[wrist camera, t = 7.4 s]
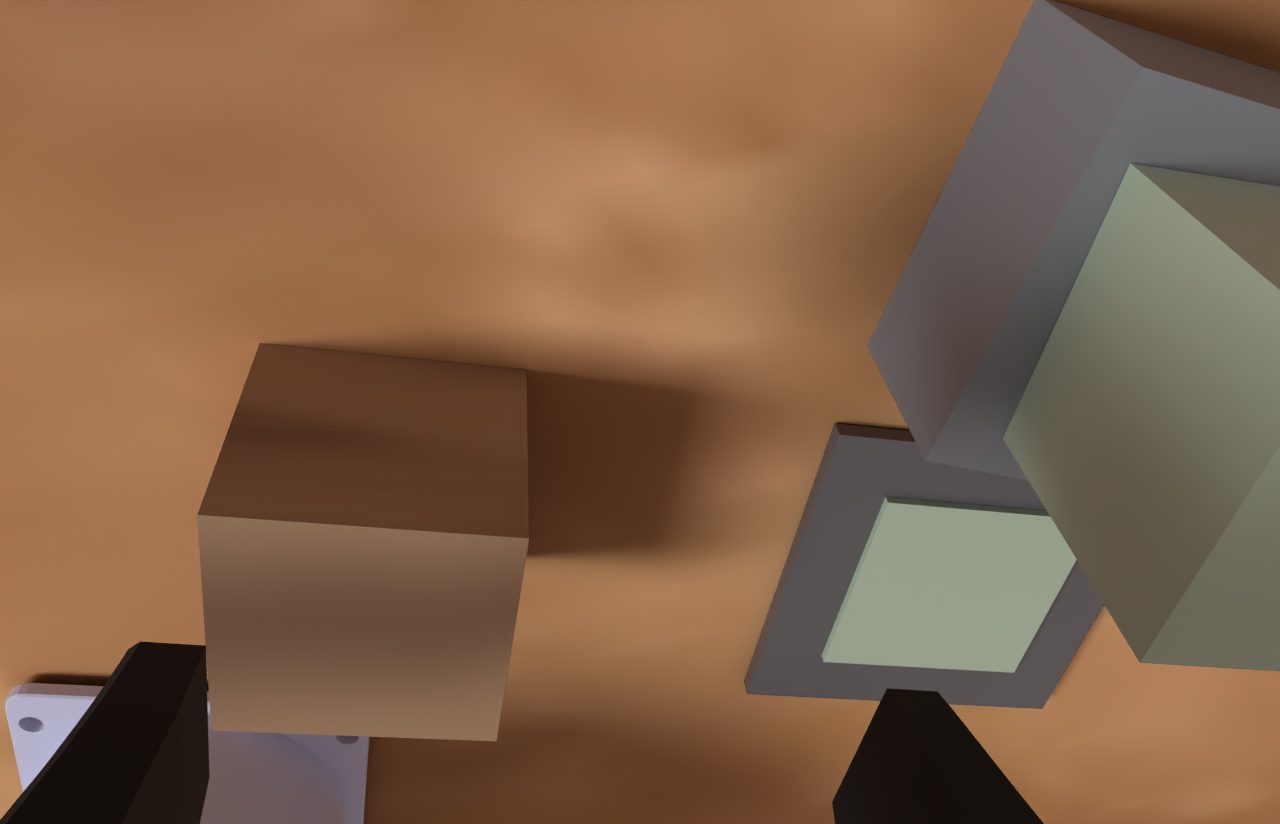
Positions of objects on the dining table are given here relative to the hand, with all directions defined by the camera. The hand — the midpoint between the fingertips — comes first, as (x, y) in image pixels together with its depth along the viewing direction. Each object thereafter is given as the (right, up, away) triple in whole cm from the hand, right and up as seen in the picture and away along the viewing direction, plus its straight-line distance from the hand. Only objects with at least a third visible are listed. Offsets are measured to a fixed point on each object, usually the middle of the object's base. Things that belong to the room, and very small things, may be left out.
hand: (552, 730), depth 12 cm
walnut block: (-4, +2, +11) cm, 12 cm away
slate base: (+10, +7, +9) cm, 15 cm away
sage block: (+10, +5, +6) cm, 13 cm away
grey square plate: (+8, 0, +14) cm, 16 cm away
